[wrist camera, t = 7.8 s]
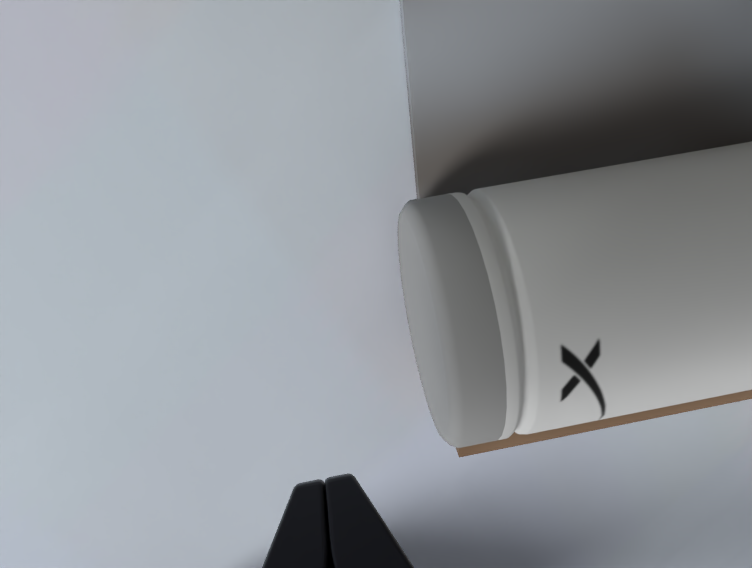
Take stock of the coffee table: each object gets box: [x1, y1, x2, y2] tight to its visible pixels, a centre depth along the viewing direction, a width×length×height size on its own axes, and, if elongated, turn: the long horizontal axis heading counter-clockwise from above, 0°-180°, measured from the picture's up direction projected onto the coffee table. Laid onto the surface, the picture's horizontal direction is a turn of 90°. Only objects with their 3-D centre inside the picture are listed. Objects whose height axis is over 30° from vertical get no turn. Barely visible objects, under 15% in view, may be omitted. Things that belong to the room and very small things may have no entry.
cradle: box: [400, 0, 752, 457], centre depth 17 cm, size 16×16×3 cm
